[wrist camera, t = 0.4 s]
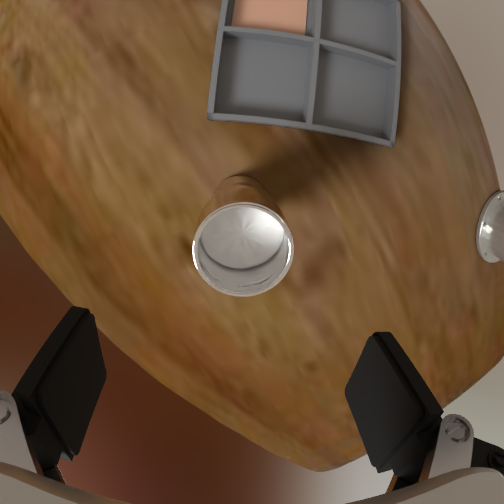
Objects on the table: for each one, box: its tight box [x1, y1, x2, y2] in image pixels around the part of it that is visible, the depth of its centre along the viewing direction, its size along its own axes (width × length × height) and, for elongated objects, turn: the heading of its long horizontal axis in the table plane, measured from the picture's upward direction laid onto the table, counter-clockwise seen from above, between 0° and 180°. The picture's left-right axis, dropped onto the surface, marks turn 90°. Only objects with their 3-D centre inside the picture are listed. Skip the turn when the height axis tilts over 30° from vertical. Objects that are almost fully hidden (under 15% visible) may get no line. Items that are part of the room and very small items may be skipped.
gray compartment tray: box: [207, 0, 401, 147], centre depth 24 cm, size 20×20×3 cm
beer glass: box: [192, 176, 294, 297], centre depth 25 cm, size 7×7×15 cm
